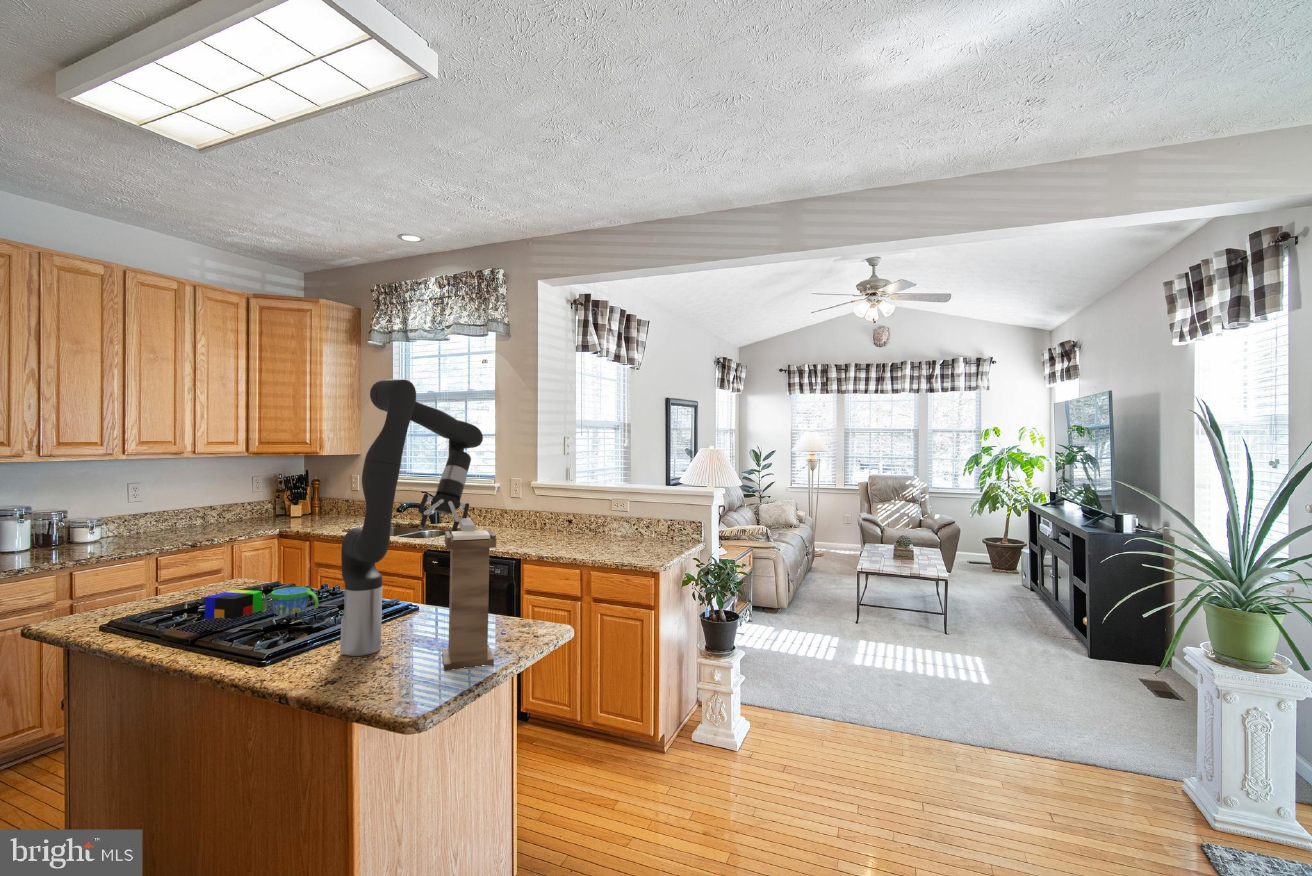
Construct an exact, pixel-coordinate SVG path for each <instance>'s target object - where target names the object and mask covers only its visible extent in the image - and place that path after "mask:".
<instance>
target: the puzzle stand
mask: <svg viewBox="0 0 1312 876" xmlns="http://www.w3.org/2000/svg"><path fill="white" fill-rule="evenodd" d="M487 532H488V533H489V534H490V539H471V540H453V538H452V536H451V531H445V532H444V545H445V548H446V550H450V553H449V554H450V557H449V558H450V559H449V561H450V562H449V564H450V565H449V567H450V568H449V570H450V571H449V598H448V599H449V600H448V602H449V605H448V606H449V607H448V608H449V610H448V647H447V648H445V649H442V650H441V651H442V652H441V655H442V656H441V657H442V665H443V666H444V667H443V671H444V672H447V671H453V670H452V669H455V670H461V669H460V668H464V667H472V668H476V667H475V666H481V667H483V666H482V665H489V666H494V665H495V662H494V661H495V658H494V656H493V653H492V651H491V647H490V645H489V644H488V640H489V637H488V636H489V599H490V598H489V594H490V593H489V591H490V589H489V588H490V587H489V586H490V548H491V549H494V548H497V535H496V534H495V533H494V532H493V531H492V530H491V529H487ZM464 669H465V668H464Z"/></svg>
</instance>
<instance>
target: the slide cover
mask: <svg viewBox="0 0 1312 876" xmlns="http://www.w3.org/2000/svg"><path fill="white" fill-rule="evenodd" d="M458 527H459V528H460V530H457V531H453V532H451V531H450V535H451V536H452V538H453V540H471V539H490V534H489V533H488V532H487V530H488V529H487V530H481V529H480V530H476V525H475V523H474V522H473V520H472V519H471V518H470V517H468V518H462V517H461V518H460V517H459V525H458Z"/></svg>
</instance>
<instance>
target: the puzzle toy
mask: <svg viewBox="0 0 1312 876" xmlns="http://www.w3.org/2000/svg"><path fill="white" fill-rule="evenodd" d="M204 601H205V602H204V620H205V619H214V618H220V617H221V618H230V619H235V618H237V617H241V616H243V615H248V614H252V613H254V612H258V611H260V610H262V609H261V606H262V602H263V591H262V590H261V591H260V590H247V589H246V590H245V589H231V590H228V591H224V592H220V593H217V594H213V595H208V596H205V598H204Z"/></svg>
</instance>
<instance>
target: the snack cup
mask: <svg viewBox="0 0 1312 876" xmlns="http://www.w3.org/2000/svg"><path fill="white" fill-rule="evenodd" d="M310 596H311V598H312V599H313V601H314V607H313V608H314V609H313V611H314V610H315V609H316V608H319V598H318V596H317V594H316V593H315V592H314V591H312V590H311V588H309V587H302V586H292V587H283V588H278V589H274V590H272V591H271V592H270V593H268V594H266V595H265V596H264V598H262V606H261V609H262V612H265V611H266V610H267V609H268V608H267V601H268V598H269V597H271V600H272V608H273V615H274V614H276V615H287V614H295V613H297V612H301V611H302V610H305V609H306V610H307V605H308V602H309V598H310ZM266 612H267V611H266Z"/></svg>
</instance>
